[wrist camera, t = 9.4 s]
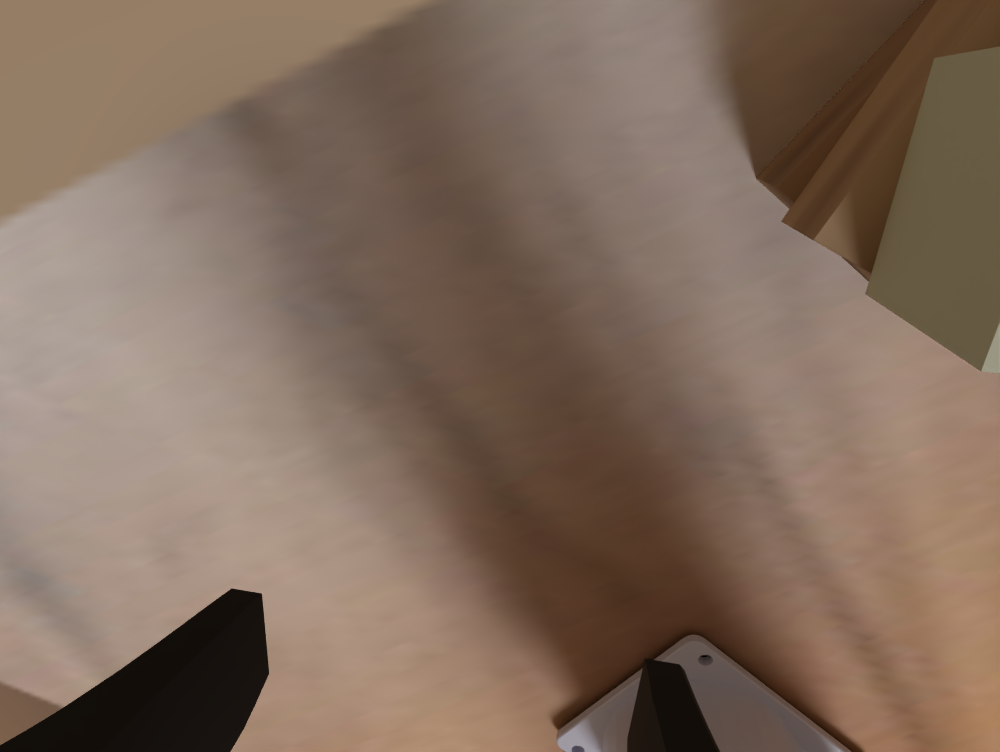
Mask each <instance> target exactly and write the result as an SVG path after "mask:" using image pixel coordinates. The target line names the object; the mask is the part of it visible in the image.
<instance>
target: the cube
mask: <svg viewBox="0 0 1000 752" xmlns="http://www.w3.org/2000/svg"><path fill="white" fill-rule="evenodd" d="M866 295H868V296H869V297H871V298H872V299H874V300H875V301H877V302H878V303H880V304H881V305H883V306H884V307H886V308H887V309H889V310H890V311H892V312H893V313H895V314H896V315H898V316H899V317H901V318H902V319H904V320H905V321H907V322H908V323H910V324H911V325H913V326H914V327H916V328H917V329H919V330H920V331H922V332H923V333H925V334H926V335H928V336H929V337H930V338H932V339H933V340H935V341H936V342H938V343H939V344H941V345H942V346H944V347H945V348H947V349H948V350H950V351H951V352H953V353H954V354H956V355H957V356H959V357H960V358H962V359H963V360H965V361H966V362H968V363H969V364H971V365H972V366H974V367H975V368H977V369H978V370H980V371H982V372H992V373H1000V47H994V48H988V49H983V50H977V51H971V52H966V53H960V54H954V55H949V56H943V57H937V58H934V61H933V64H932V68H931V71H930V74H929V78H928V81H927V85H926V88H925V92H924V95H923V99H922V102H921V106H920V109H919V112H918V116H917V119H916V123H915V126H914V130H913V133H912V136H911V140H910V143H909V147H908V150H907V153H906V157H905V160H904V164H903V167H902V171H901V174H900V177H899V181H898V184H897V188H896V191H895V195H894V198H893V201H892V205H891V208H890V212H889V215H888V218H887V222H886V225H885V229H884V232H883V236H882V239H881V242H880V246H879V249H878V253H877V256H876V260H875V263H874V266H873V270H872V273H871V277H870V280H869V284H868V287H867V290H866Z"/></svg>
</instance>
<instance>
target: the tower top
mask: <svg viewBox="0 0 1000 752" xmlns="http://www.w3.org/2000/svg"><path fill="white" fill-rule="evenodd" d="M994 47H1000V0H937V2H936V3H935V5H934V6H933V7H932V9H931V10H930V12H929V13H928V14H927V16H926V17H925V19H924V20H923V22H922V23H921V24H920V26H919V27H918V29H917V30H916V31H915V33H914V34H913V36H912V37H911V38H910V40H909V41H908V43H907V44H906V46H905V47H904V48H903V50H902V51H901V53H900V54H899V55H898V57H897V58H896V60H895V61H894V63H893V64H892V65H891V67H890V68H889V70H888V71H887V72H886V74H885V75H884V77H883V78H882V79H881V81H880V82H879V84H878V85H877V87H876V88H875V89H874V91H873V92H872V94H871V95H870V96H869V98H868V99H867V101H866V102H865V104H864V105H863V106H862V108H861V109H860V111H859V112H858V113H857V115H856V116H855V118H854V119H853V121H852V122H851V123H850V125H849V126H848V128H847V129H846V130H845V132H844V133H843V135H842V136H841V137H840V139H839V140H838V142H837V143H836V145H835V146H834V147H833V149H832V150H831V152H830V153H829V154H828V156H827V157H826V159H825V160H824V162H823V163H822V164H821V166H820V167H819V169H818V170H817V171H816V173H815V174H814V176H813V177H812V178H811V180H810V181H809V183H808V184H807V186H806V187H805V188H804V190H803V191H802V193H801V194H800V195H799V197H798V198H797V200H796V201H795V203H794V204H793V205H792V207H791V208H790V210H789V211H788V212H787V214H786V215H785V217H784V218H783V220H782V221H781V222H783V223H785V224H787V225H788V226H790V227H792V228H793V229H795V230H797V231H799V232H800V233H802V234H804V235H805V236H807V237H809V238H810V239H812V240H814V241H816V242H817V243H819V244H821V245H823V246H824V247H826V248H828V249H830V250H831V251H833V252H835V253H837V254H838V255H840V256H842V257H844V258H845V259H847V260H849V261H851V262H852V263H854V264H856V265H857V266H859V267H861V268H863V269H864V270H866V271H868V272H870V273H872V270H873V266H874V263H875V260H876V256H877V253H878V249H879V246H880V242H881V239H882V236H883V232H884V229H885V225H886V222H887V218H888V215H889V212H890V208H891V205H892V201H893V198H894V195H895V191H896V188H897V184H898V181H899V177H900V174H901V171H902V167H903V164H904V160H905V157H906V153H907V150H908V147H909V143H910V140H911V136H912V133H913V130H914V126H915V123H916V119H917V116H918V112H919V109H920V106H921V102H922V99H923V95H924V92H925V88H926V85H927V81H928V78H929V74H930V71H931V68H932V64H933V61H934V58H937V57H943V56H949V55H954V54H960V53H966V52H971V51H977V50H983V49H988V48H994Z"/></svg>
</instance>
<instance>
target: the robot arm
mask: <svg viewBox="0 0 1000 752" xmlns="http://www.w3.org/2000/svg"><path fill="white" fill-rule="evenodd" d="M702 655H709V656H708V657H700V656H702ZM268 674H269V667H268V656H267V645H266V634H265V623H264V612H263V601H262V594H261V593H255V592H249V591H243V590H237V589H230V590H229V591H228V592H226V593H225V594H224V595H222V596H221V597H219V598H218V599H217V600H215V601H214V602H212V603H211V604H210V605H208V606H207V607H206V608H204V609H203V610H202V611H200V612H199V613H198V614H196V615H195V616H193V617H192V618H191V619H189V620H188V621H187V622H185V623H184V624H183V625H181V626H180V627H179V628H177V629H176V630H175V631H173V632H172V633H171V634H169V635H168V636H166V637H165V638H164V639H162V640H161V641H160V642H158V643H157V644H156V645H154V646H153V647H151V648H150V649H149V650H147V651H146V652H144V653H143V654H142V655H140V656H139V657H137V658H136V659H135V660H133V661H132V662H130V663H129V664H128V665H126V666H125V667H123V668H122V669H121V670H119V671H118V672H116V673H115V674H113V675H112V676H110V677H109V678H107V679H106V680H104V681H103V682H101V683H100V684H98V685H97V686H95V687H94V688H92V689H91V690H89V691H88V692H86V693H85V694H83V695H82V696H80V697H79V698H77V699H76V700H74V701H73V702H71V703H70V704H68V705H67V706H65V707H64V708H62V709H60V710H59V711H57V712H56V713H54V714H53V715H51V716H49V717H48V718H46V719H45V720H43V721H41V722H39V723H38V724H36V725H34V726H33V727H31V728H29V729H28V730H26V731H24V732H23V733H21V734H19V735H17V736H16V737H14V738H12V739H10V740H9V741H7V742H5V743H4V744H2V745H0V752H230V751H231V750H232V748H233V746H234V745H235V743H236V741H237V739H238V738H239V736H240V734H241V733H242V731H243V729H244V727H245V725H246V723H247V721H248V719H249V717H250V715H251V712H252V710H253V708H254V706H255V704H256V702H257V699H258V697H259V695H260V693H261V690H262V688H263V686H264V684H265V681H266V679H267V677H268ZM556 742H557V745H558V746H559V747H560V748H561V749H562V750H564V751H565V752H851V751H850V750H849V749H847V748H846V747H845V746H844V745H842V744H841V743H840V742H838V741H837V740H836V739H835V738H833V737H832V736H831V735H829V734H828V733H827V732H825V731H824V730H823V729H822V728H820V727H819V726H818V725H816V724H815V723H814V722H812V721H811V720H810V719H809V718H807V717H806V716H805V715H803V714H802V713H801V712H799V711H798V710H797V709H796V708H794V707H793V706H792V705H790V704H789V703H788V702H786V701H785V700H784V699H783V698H781V697H780V696H779V695H777V694H776V693H775V692H774V691H772V690H771V689H770V688H768V687H767V686H766V685H764V684H763V683H762V682H761V681H759V680H758V679H757V678H755V677H754V676H753V675H751V674H750V673H749V672H748V671H746V670H745V669H744V668H742V667H741V666H740V665H738V664H737V663H736V662H735V661H733V660H732V659H731V658H729V657H728V656H727V655H725V654H724V653H723V652H722V651H720V650H719V649H718V648H716V647H715V646H714V645H713V644H711V643H710V642H709V641H707V640H706V639H705V638H703V637H701V636H699V635H688V636H686V637H684V638H683V639H681V640H680V641H679V642H677V643H676V644H675V645H673V646H672V647H670V648H669V649H668V650H666V651H665V652H664V653H662V654H661V655H660V656H658V657H657V658H656V659H654V660H651V659H646V658H645V660H644V665H643V668H642V669H641V670H639V671H638V672H637V673H635V674H634V675H633V676H631V677H630V678H629V679H627V680H626V681H624V682H623V683H622V684H620V685H619V686H618V687H616V688H615V689H614V690H612V691H611V692H610V693H608V694H607V695H605V696H604V697H603V698H601V699H600V700H599V701H597V702H596V703H595V704H593V705H592V706H591V707H589V708H588V709H587V710H585V711H584V712H582V713H581V714H580V715H578V716H577V717H576V718H574V719H573V720H572V721H570V722H569V723H568V724H566V725H565V726H563V727H562V728H561V729H560V730H559V731H558V732H557V740H556Z"/></svg>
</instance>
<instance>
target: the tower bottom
mask: <svg viewBox="0 0 1000 752" xmlns="http://www.w3.org/2000/svg"><path fill="white" fill-rule="evenodd" d="M936 2H937V0H926V1H925V2H924V3H923V4H922V5H921V6H920V7H919V8H918V9H917V10H916V11H915V12H914V13H913V14H912V15H911V16H910V18H909V19H908V20H907V21H906V22H905V23H904V24H903V25H902V26H901V27H900V28H899V29H898V30H897V31H896V32H895V33H894V34H893V35H892V36H891V37H890V38H889V40H888V41H887V42H886V43H885V44H884V45H883V46H882V47H881V48H880V49H879V50H878V51H877V52H876V53H875V54H874V55H873V56H872V57H871V58H870V59H869V60H868V61H867V63H866V64H865V65H864V66H863V67H862V68H861V69H860V70H859V71H858V72H857V73H856V74H855V75H854V76H853V77H852V78H851V79H850V80H849V81H848V82H847V83H846V85H845V86H844V87H843V88H842V89H841V90H840V91H839V92H838V93H837V94H836V95H835V96H834V97H833V98H832V99H831V100H830V101H829V102H828V103H827V104H826V105H825V107H824V108H823V109H822V110H821V111H820V112H819V113H818V114H817V115H816V116H815V117H814V118H813V119H812V120H811V121H810V122H809V123H808V124H807V125H806V126H805V127H804V129H803V130H802V131H801V132H800V133H799V134H798V135H797V136H796V137H795V138H794V139H793V140H792V141H791V142H790V143H789V144H788V145H787V146H786V147H785V148H784V149H783V151H782V152H781V153H780V154H779V155H778V156H777V157H776V158H775V159H774V160H773V161H772V162H771V163H770V164H769V165H768V166H767V167H766V168H765V169H764V170H763V171H762V173H761V174H760V175H759V176H758V177H757V178H756V179H757V180H758V181H760V182H761V183H762V184H763V185H764V186H765V187H766V188H767V189H768V190H769V191H770V192H772V193H773V194H774V195H775V196H776V197H777V198H778V199H779V200H780V201H781V202H782V203H784V204H785V205H786V206H787V207H788V208H789V209H790V208H791V207H792V205H793V204H794V203H795V201H796V200H797V198H798V197H799V195H800V194H801V193H802V191H803V190H804V188H805V187H806V186H807V184H808V183H809V181H810V180H811V178H812V177H813V176H814V174H815V173H816V171H817V170H818V169H819V167H820V166H821V164H822V163H823V162H824V160H825V159H826V157H827V156H828V154H829V153H830V152H831V150H832V149H833V147H834V146H835V145H836V143H837V142H838V140H839V139H840V137H841V136H842V135H843V133H844V132H845V130H846V129H847V128H848V126H849V125H850V123H851V122H852V121H853V119H854V118H855V116H856V115H857V113H858V112H859V111H860V109H861V108H862V106H863V105H864V104H865V102H866V101H867V99H868V98H869V96H870V95H871V94H872V92H873V91H874V89H875V88H876V87H877V85H878V84H879V82H880V81H881V79H882V78H883V77H884V75H885V74H886V72H887V71H888V70H889V68H890V67H891V65H892V64H893V63H894V61H895V60H896V58H897V57H898V55H899V54H900V53H901V51H902V50H903V48H904V47H905V46H906V44H907V43H908V41H909V40H910V38H911V37H912V36H913V34H914V33H915V31H916V30H917V29H918V27H919V26H920V24H921V23H922V22H923V20H924V19H925V17H926V16H927V14H928V13H929V12H930V10H931V9H932V7H933V6H934V5H935V3H936ZM841 257H842V256H841ZM842 258H844V257H842ZM844 259H845V258H844ZM845 260H846V261H847V262H848V263H849V264H850V265H851V266H852V267H853V268H854V269H856V270H857V271H858V272H859V273H860V274H861V275H862V276H863V277H864V278H865V279H866V280H867V281H869V280H870V277H871V273H870V272H868V271H866V270H864V269H863V268H861V267H859V266H857V265H856V264H854V263H852V262H851V261H849V260H847V259H845Z"/></svg>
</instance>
